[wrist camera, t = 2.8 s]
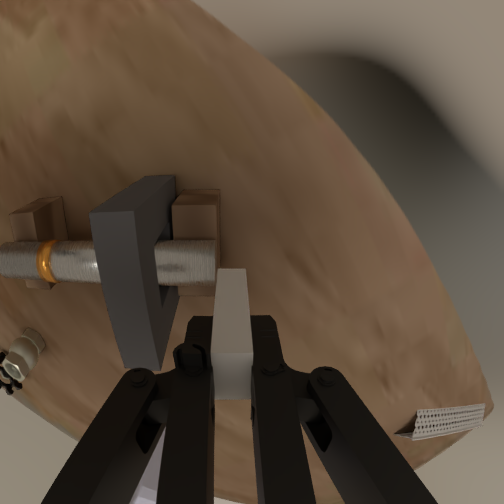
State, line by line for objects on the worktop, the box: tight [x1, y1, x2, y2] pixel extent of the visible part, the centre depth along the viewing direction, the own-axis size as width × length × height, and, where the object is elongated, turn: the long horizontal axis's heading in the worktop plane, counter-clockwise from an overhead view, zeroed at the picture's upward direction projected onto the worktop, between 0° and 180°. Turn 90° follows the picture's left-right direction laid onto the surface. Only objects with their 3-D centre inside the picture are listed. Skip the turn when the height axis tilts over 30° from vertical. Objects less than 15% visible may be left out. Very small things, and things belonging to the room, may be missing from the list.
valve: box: [0, 328, 45, 395], centre depth 27 cm, size 7×7×12 cm
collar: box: [89, 175, 180, 371], centre depth 19 cm, size 2×10×10 cm, turn 178°
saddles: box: [9, 190, 220, 296], centre depth 22 cm, size 18×7×5 cm, turn 88°
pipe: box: [0, 240, 217, 286], centre depth 19 cm, size 18×3×3 cm, turn 88°
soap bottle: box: [129, 427, 166, 504], centre depth 25 cm, size 9×7×23 cm
